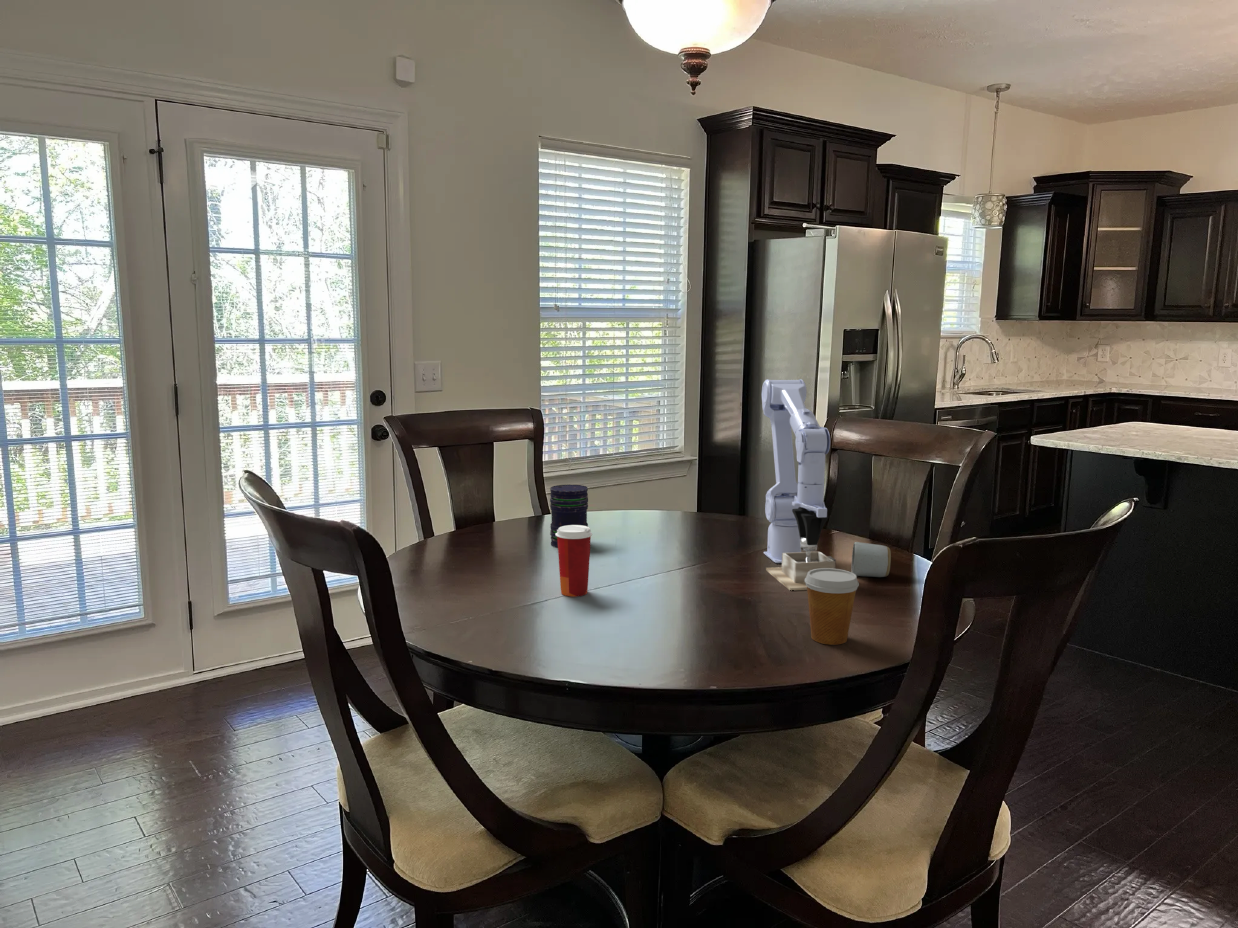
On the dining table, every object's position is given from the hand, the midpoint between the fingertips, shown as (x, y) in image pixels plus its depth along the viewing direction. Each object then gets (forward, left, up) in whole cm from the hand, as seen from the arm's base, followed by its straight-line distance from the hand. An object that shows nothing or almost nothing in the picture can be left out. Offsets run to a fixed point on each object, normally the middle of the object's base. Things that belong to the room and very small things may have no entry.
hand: (808, 542), depth 192 cm
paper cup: (+3, -53, -9) cm, 54 cm away
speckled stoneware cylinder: (-2, +15, -9) cm, 18 cm away
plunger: (0, 0, -6) cm, 6 cm away
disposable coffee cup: (+37, -10, -9) cm, 39 cm away
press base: (0, 0, -8) cm, 8 cm away
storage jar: (-39, -50, -9) cm, 64 cm away
